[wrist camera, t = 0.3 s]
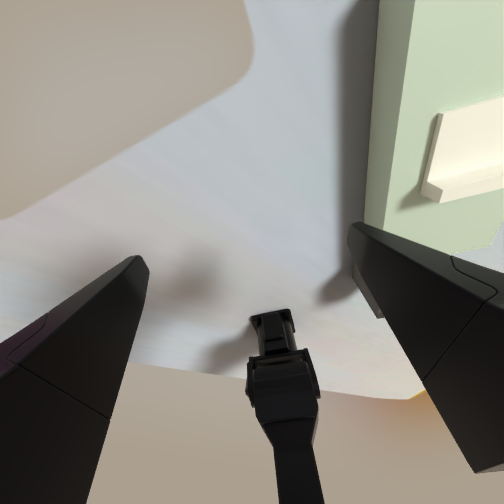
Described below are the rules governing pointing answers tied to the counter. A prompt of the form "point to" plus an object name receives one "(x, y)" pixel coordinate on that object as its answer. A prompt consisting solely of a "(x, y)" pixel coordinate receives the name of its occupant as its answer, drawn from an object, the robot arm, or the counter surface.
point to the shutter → (466, 152)
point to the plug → (366, 292)
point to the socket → (430, 115)
